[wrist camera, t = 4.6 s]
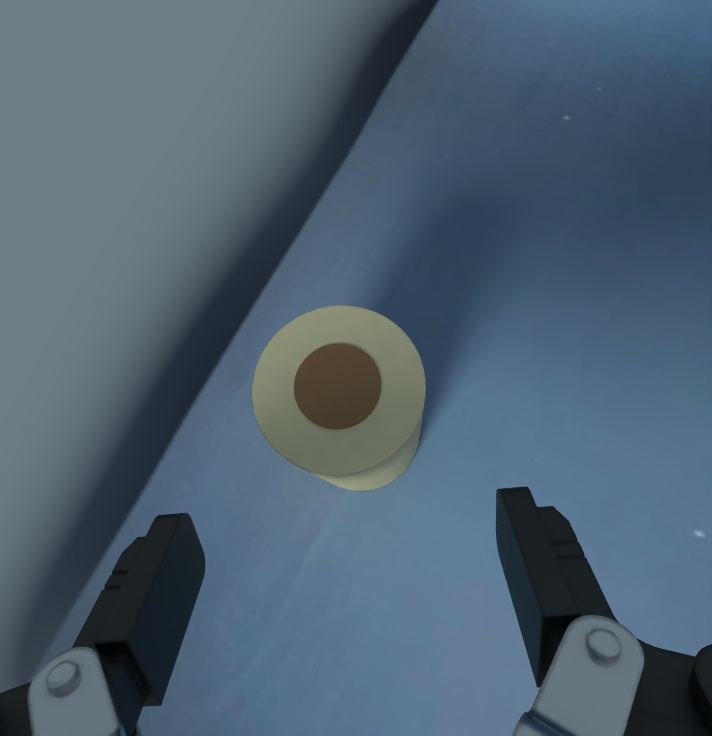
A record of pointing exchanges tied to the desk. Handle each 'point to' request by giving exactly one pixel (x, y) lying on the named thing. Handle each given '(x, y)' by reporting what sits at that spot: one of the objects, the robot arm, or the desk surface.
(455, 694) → the desk surface
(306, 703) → the desk surface
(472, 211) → the desk surface
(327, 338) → the toilet paper roll
